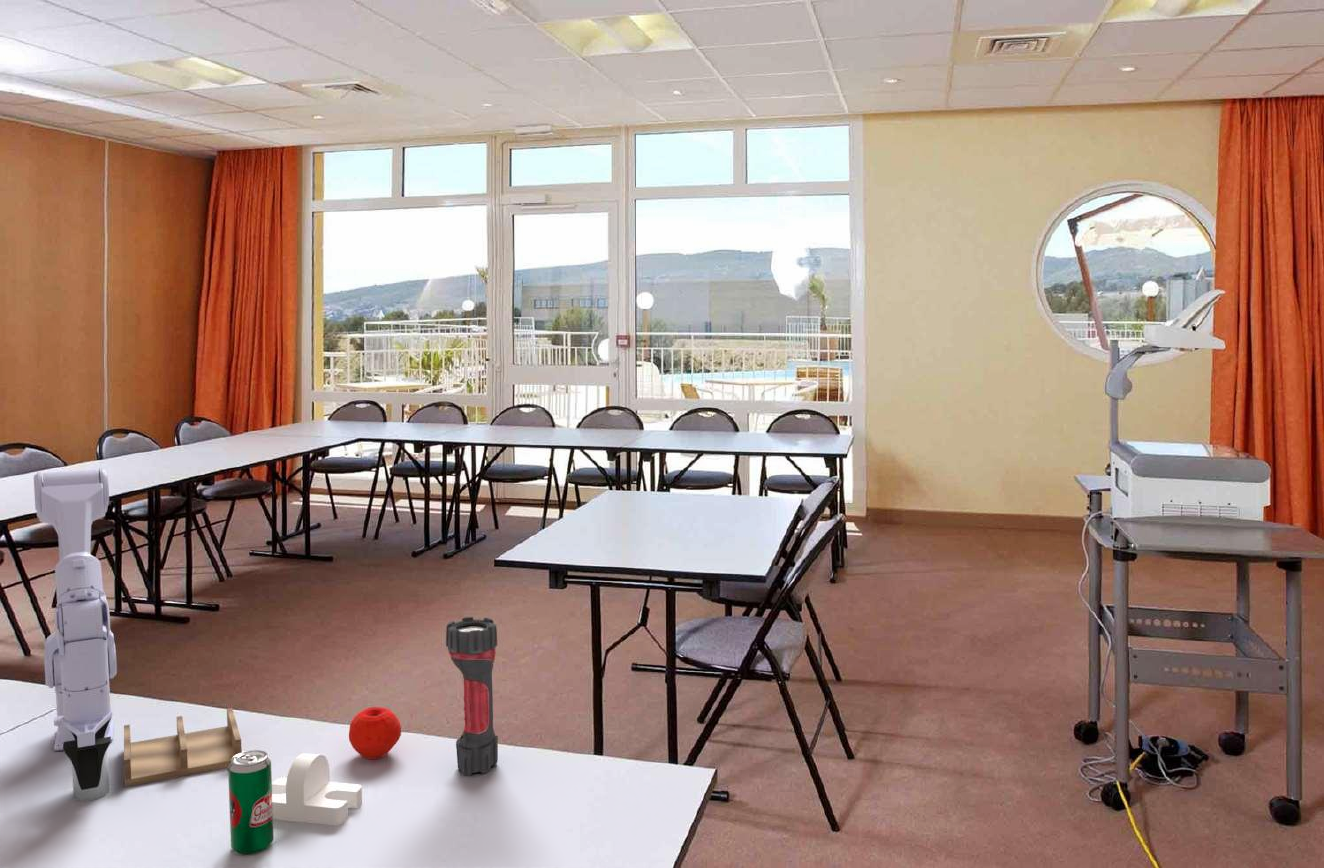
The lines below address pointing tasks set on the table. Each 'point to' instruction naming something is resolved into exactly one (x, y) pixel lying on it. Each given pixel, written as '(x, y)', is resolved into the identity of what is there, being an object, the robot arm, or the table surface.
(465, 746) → the flashlight
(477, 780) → the table surface
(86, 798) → the cylinder
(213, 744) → the rack
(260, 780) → the soda can
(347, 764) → the table surface
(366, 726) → the apple
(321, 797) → the slotted bracket
